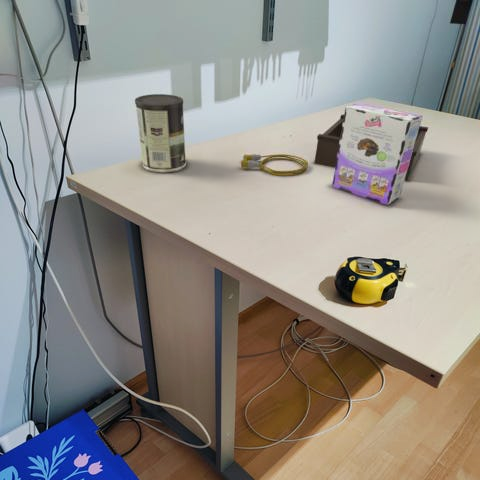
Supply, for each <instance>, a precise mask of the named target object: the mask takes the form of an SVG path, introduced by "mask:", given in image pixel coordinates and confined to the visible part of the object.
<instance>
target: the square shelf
mask: <svg viewBox="0 0 480 480" xmlns="http://www.w3.org/2000/svg"><path fill="white" fill-rule="evenodd" d="M343 119H344V113H341V115H340V117H339V119H338V120H337V121H336V122H335V123H333V124H332V125H331V126H330V127H328V129H327V130H326V131H325V132H324V133H319V134H318V135H317V136H316V139H317V143H316V151H315V157H314V164H316V165H320V166H321V165H322V166H326V167H331V168H335V166H336V160H337V154H338V148H339V142H340V137H341V131H342V125H343ZM428 131H429V127H428V126H423V125H420V127H419V131H418V134H417V138H416V141H415V145H414V148H413V152H412V155H411V159H410V163H409V166H408V169H407V173H406V177H405V180H404V182H408V181H409V179H410V176H411V174H412V172H413V170H414V168H415V165H416V163H417V161H418V158H419V156H420V154H421V151H422V147H423V144H424V141H425V139H426V134H427V133H428Z"/></svg>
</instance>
